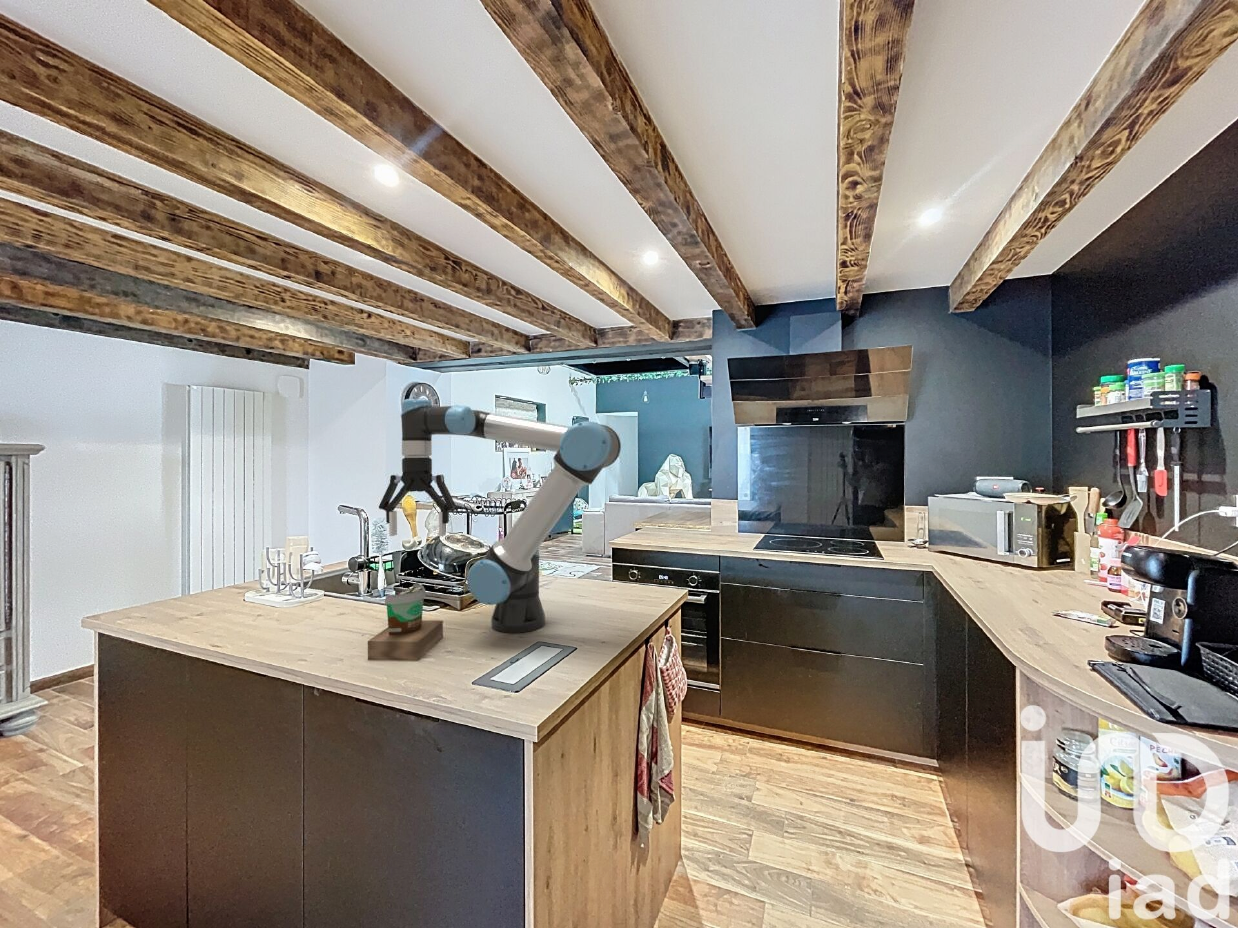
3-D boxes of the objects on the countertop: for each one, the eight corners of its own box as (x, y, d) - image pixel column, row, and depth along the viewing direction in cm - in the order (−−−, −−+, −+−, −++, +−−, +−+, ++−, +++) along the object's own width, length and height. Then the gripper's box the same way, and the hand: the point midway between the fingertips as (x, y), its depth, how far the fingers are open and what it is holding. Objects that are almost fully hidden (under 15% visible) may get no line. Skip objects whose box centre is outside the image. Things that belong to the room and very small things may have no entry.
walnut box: (442, 639, 140) (442, 620, 140) (417, 662, 124) (417, 641, 124) (398, 638, 140) (398, 619, 140) (367, 662, 124) (367, 641, 124)
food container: (407, 638, 126) (407, 596, 126) (385, 636, 127) (384, 595, 127) (436, 622, 138) (435, 584, 138) (415, 621, 139) (414, 583, 139)
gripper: (467, 456, 145) (467, 533, 145) (379, 457, 146) (379, 533, 147) (457, 456, 137) (458, 537, 138) (364, 457, 139) (365, 537, 139)
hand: (417, 535), depth 142 cm, fingers open, 13 cm apart
